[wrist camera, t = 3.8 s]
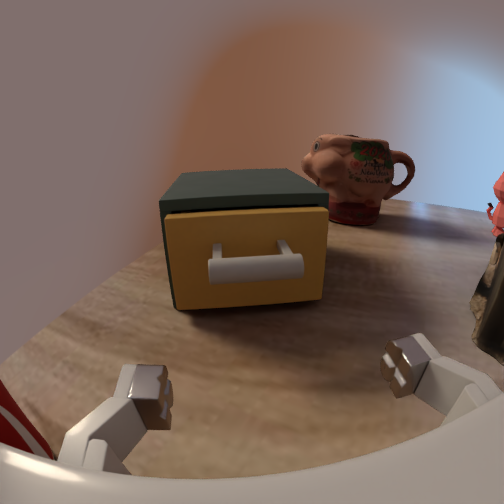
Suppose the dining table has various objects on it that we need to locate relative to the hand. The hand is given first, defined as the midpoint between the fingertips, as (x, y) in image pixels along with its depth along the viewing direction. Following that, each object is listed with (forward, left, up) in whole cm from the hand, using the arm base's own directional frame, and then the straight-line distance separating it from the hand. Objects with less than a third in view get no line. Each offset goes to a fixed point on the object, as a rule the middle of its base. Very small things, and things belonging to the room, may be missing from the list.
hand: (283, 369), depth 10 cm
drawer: (0, +17, -5) cm, 18 cm away
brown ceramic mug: (+21, +37, -6) cm, 43 cm away
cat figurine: (+48, +26, -6) cm, 55 cm away
